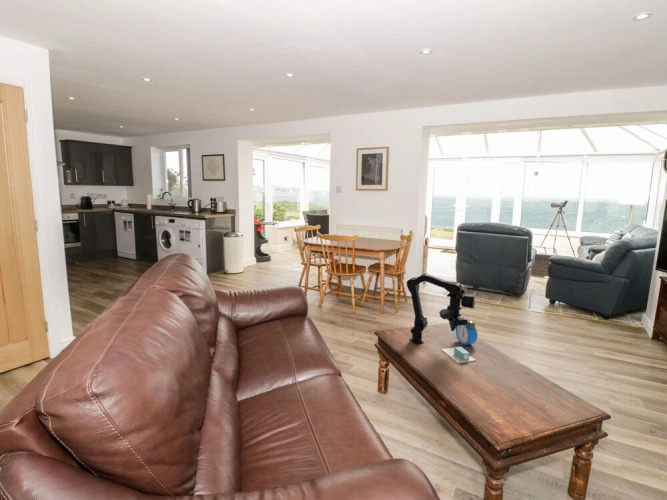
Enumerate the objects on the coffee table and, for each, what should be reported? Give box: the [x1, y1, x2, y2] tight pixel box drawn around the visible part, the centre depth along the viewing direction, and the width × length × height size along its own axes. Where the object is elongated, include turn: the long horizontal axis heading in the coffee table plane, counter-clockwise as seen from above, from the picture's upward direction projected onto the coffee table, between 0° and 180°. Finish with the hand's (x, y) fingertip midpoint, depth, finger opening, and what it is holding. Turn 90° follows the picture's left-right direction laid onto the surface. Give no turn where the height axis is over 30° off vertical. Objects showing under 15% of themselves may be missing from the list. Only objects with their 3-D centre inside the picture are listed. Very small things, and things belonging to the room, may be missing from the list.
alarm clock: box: [455, 317, 478, 346], centre depth 215 cm, size 13×6×15 cm, turn 17°
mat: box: [441, 347, 476, 364], centre depth 201 cm, size 16×11×1 cm
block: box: [453, 346, 470, 361], centre depth 198 cm, size 4×4×8 cm
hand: (452, 331), depth 205 cm, fingers closed
